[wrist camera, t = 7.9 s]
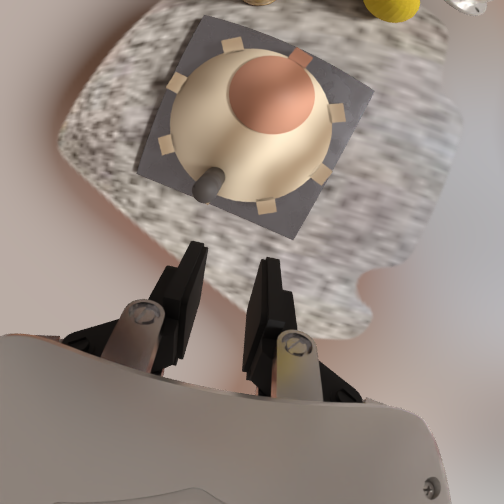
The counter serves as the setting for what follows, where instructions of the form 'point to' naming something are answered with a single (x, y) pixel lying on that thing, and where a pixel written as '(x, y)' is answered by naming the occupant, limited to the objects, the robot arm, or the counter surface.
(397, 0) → the lemon
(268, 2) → the sprinkles bottle
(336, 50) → the counter surface
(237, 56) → the sprocket dial
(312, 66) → the dial base
